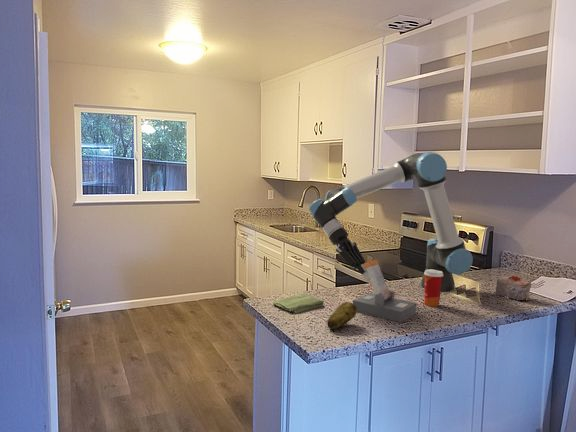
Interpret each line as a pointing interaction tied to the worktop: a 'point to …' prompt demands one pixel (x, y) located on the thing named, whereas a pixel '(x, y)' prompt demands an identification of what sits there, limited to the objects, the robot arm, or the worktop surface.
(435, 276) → the paper cup
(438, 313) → the worktop surface
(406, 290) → the worktop surface
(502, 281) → the food item
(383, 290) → the lever
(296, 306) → the washcloth
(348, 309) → the potato
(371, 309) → the switch block
